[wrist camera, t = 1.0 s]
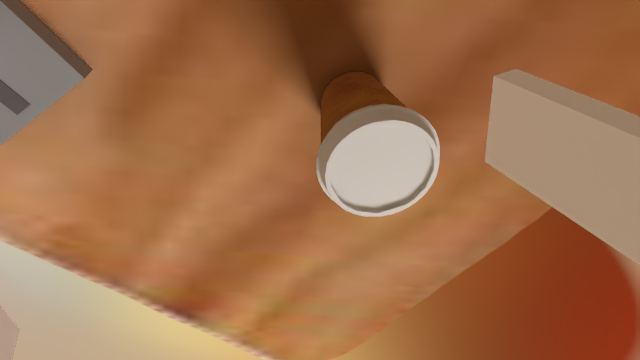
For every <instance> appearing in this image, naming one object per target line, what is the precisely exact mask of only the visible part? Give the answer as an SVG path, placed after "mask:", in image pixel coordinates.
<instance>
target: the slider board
mask: <svg viewBox="0 0 640 360" xmlns="http://www.w3.org/2000/svg"><path fill="white" fill-rule="evenodd" d="M91 70H92V69H91V68H90V67H89V66H88V65H87V64H86V63H85V62H84V61H83V60H82V59H81V58H79V57H78V56H77V55H76V54H75V53H74V52H73V51H72V50H71V49H70V48H69V47H68V46H67V45H66V44H65V43H64V42H63V41H61V40H60V39H59V38H58V37H57V36H56V35H55V34H54V33H53V32H52V31H51V30H50V29H49V28H48V27H47V26H46V25H45V24H44V23H42V22H41V21H40V20H39V19H38V18H37V17H36V16H35V15H34V14H33V13H32V12H31V11H30V10H29V9H28V8H27V7H26V6H25V5H23V4H22V3H21V2H20V1H19V0H0V146H1V145H2V144H3V143H4V142H6V141H7V140H8V139H9V138H11V137H12V136H13V135H14V134H16V133H17V132H18V131H19V130H21V129H22V128H23V127H24V126H26V125H27V124H28V123H29V122H31V121H32V120H33V119H34V118H36V117H37V116H38V115H39V114H41V113H42V112H43V111H44V110H46V109H47V108H48V107H50V106H51V105H52V104H53V103H55V102H56V101H57V100H58V99H60V98H61V97H62V96H63V95H65V94H66V93H67V92H68V91H70V90H71V89H72V88H73V87H75V86H76V85H77V84H78V83H80V82H81V81H82V80H83V79H85V78H86V76H87V75H88V74H89V73H90V72H91Z"/></svg>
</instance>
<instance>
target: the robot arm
mask: <svg viewBox="0 0 640 360" xmlns="http://www.w3.org/2000/svg"><path fill="white" fill-rule="evenodd" d="M485 162H486V163H488V164H489V165H491V166H492V167H494V168H495V169H497V170H498V171H500V172H501V173H503V174H504V175H506V176H507V177H509V178H510V179H512V180H513V181H515V182H516V183H518V184H519V185H521V186H522V187H524V188H525V189H527V190H528V191H530V192H531V193H533V194H534V195H536V196H537V197H539V198H540V199H542V200H543V201H544V202H546V203H547V204H549V205H550V206H552V207H553V208H555V209H556V210H558V211H559V212H561V213H562V214H564V215H566V216H567V217H568V218H570V219H572V220H573V221H574V222H576V223H577V224H579V225H580V226H582V227H583V228H585V229H586V230H588V231H589V232H591V233H592V234H594V235H595V236H597V237H598V238H600V239H601V240H603V241H604V242H606V243H607V244H609V245H610V246H612V247H613V248H615V249H616V250H618V251H619V252H621V253H622V254H624V255H625V256H627V257H628V258H630V259H631V260H633V261H634V262H636V263H637V264H639V265H640V116H637V115H635V114H632V113H630V112H627V111H624V110H622V109H619V108H617V107H614V106H611V105H609V104H606V103H604V102H601V101H598V100H596V99H593V98H591V97H588V96H585V95H583V94H580V93H578V92H575V91H572V90H570V89H567V88H565V87H562V86H559V85H557V84H554V83H552V82H549V81H546V80H544V79H541V78H539V77H536V76H533V75H531V74H528V73H526V72H523V71H520V70H518V69H515V70H512V71H508V72H505V73H502V74H498V75H495V76H494V79H493V88H492V97H491V107H490V116H489V126H488V135H487V144H486V154H485ZM18 333H19V328H18V327H17V325H16V324H15V323H14V322H13V321H12V319H11V318H10V317H9V316H8V315H7V313H6V312H5V311H4V310H3V309H2V307H1V306H0V360H12V358H13V354H14V350H15V345H16V341H17V337H18Z"/></svg>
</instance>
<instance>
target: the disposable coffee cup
mask: <svg viewBox="0 0 640 360" xmlns="http://www.w3.org/2000/svg"><path fill="white" fill-rule="evenodd" d="M439 155H440V146H439V140H438V137H437V134H436V131H435V130H434V128H433V127H432V125H431V124H430V122H428V121H427V120H426V119H425V118H424V117H423V116H422V115H420V114H419V113H417V112H415V111H414V110H412V109H409V108H407V107H406V106H404V104H402V103H401V102H400V101H399V100H398V99H397V98H396V97H395V96H394V95H393V94H392V93H391V92H390V91H389V90H388V89H386V88H385V87H384V86H383V85H382V84H381V83H380V82H379V81H378V80H377V79H376V78H375V77H374V76H372V75H370V74H367V73H364V72H358V71H355V72H348V73H345V74H342V75H340V76H338V77H336V78H335V79H334V80H332V81H331V82H330V83H329V84H328V85H327V87H326V89H325V90H324V92H323V95H322V98H321V146H320V149H319V152H318V155H317V176H318V180H319V183H320V185H321V187H322V189H323V190H324V192H325V193H326V194H327V195H328V196H329V197H330V198H331V199H332V200H333V201H335V202H336V203H337V204H338V205H339V206H340V207H342V208H343V209H344V210H346V211H349V212H351V213H353V214H356V215H360V216H385V215H390V214H394V213H397V212H399V211H402V210H404V209H406V208H408V207H410V206H411V205H413V204H414V203H415V202H417V201H418V200H419V199H420V198H421V197H422V196H423V195H425V194H426V192H427V191H428V190H429V188H430V187H431V185H432V184H433V182H434V180H435V178H436V175H437V172H438V167H439Z"/></svg>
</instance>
